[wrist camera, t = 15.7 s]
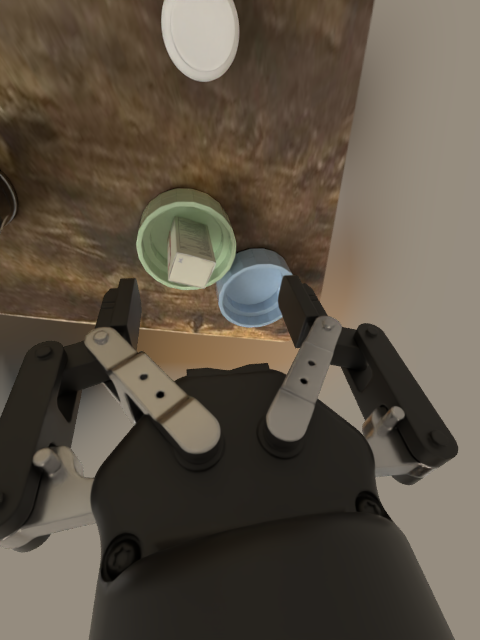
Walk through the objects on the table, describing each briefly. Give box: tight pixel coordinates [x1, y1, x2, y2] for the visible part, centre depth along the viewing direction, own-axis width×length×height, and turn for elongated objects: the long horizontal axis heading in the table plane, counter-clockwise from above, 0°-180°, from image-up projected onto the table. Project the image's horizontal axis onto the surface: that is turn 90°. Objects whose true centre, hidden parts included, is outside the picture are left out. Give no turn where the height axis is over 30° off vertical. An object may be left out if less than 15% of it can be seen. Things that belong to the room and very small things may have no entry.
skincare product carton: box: [167, 216, 216, 289], centre depth 38 cm, size 5×4×10 cm
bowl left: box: [136, 188, 236, 290], centre depth 40 cm, size 13×13×5 cm
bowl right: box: [216, 248, 293, 327], centre depth 48 cm, size 13×13×5 cm
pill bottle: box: [161, 0, 239, 82], centre depth 24 cm, size 6×6×11 cm
